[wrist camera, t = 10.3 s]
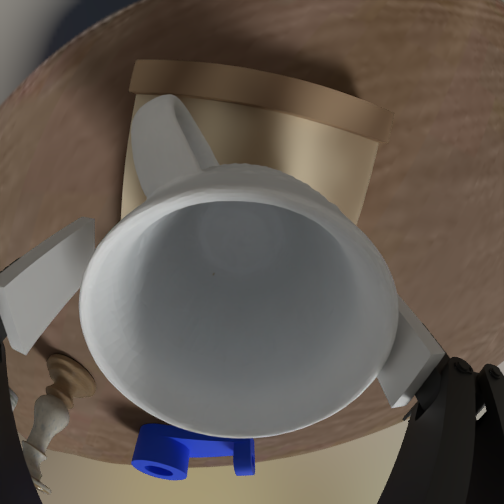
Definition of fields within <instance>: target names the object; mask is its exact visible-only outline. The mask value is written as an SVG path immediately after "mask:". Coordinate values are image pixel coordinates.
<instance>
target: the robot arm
mask: <svg viewBox="0 0 504 504" xmlns="http://www.w3.org/2000/svg"><path fill="white" fill-rule="evenodd" d="M94 250H95V219H93V218H87V217H81V218H79V219H77V220H76V221H74V222H73V223H71V224H69V225H68V226H66V227H65V228H63V229H61V230H60V231H58V232H57V233H55V234H54V235H52V236H51V237H49V238H48V239H46V240H45V241H43V242H42V243H40V244H39V245H38V246H36V247H35V248H33V249H32V250H31V251H29V252H28V253H26V254H25V255H24V256H22V257H21V258H18V259H16V260H15V261H14V262H12V263H11V264H10V266H7V267H6V268H5V269H4V270H3V271H1V272H0V504H42V502H41V500H40V498H39V495H38V493H37V490H36V488H35V485H34V483H33V480H32V478H31V475H30V472H29V469H28V467H27V464H26V461H25V457H24V454H23V451H22V448H21V444H20V441H19V437H18V433H17V429H16V424H15V420H14V415H13V410H12V404H11V399H10V392H9V385H8V377H7V367H6V354H5V347H4V344H3V340H4V339H5V338H6V336H7V337H8V340H9V342H10V345H11V347H12V348H13V349H14V350H16V351H18V352H20V353H22V354H25V355H27V353H28V352H29V350H30V349H31V348H32V346H33V345H34V344H35V342H36V341H37V340H38V338H39V337H40V336H41V334H42V333H43V332H44V330H45V329H46V328H47V327H48V325H49V324H50V323H51V321H52V320H53V319H54V318H55V316H56V315H57V314H58V313H59V312H60V310H61V309H62V308H63V307H64V306H65V304H66V303H67V302H68V301H69V300H70V298H71V297H72V296H73V295H74V294H75V293H76V292H77V290H78V289H79V288H80V287H81V282H82V278H83V274H84V271H85V268H86V265H87V263H88V261H89V259H90V257H91V256H92V254H93V252H94ZM397 297H398V309H399V317H398V326H397V332H396V337H395V341H394V344H393V347H392V349H391V352H390V354H389V356H388V358H387V361H386V362H385V364H384V366H383V367H382V369H381V371H380V372H379V374H378V375H377V378H378V380H379V382H380V384H381V387H382V389H383V391H384V393H385V395H386V397H387V399H388V401H389V403H390V406H391V408H394V407H400V406H406V405H407V404H408V403H409V401H410V400H411V399H412V398H413V397H414V395H415V396H416V398H417V400H418V401H417V403H416V404H415V405H414V406H413V407H412V408H411V410H410V411H409V412H408V413H407V414H406V415H405V416H404V418H403V419H402V420H404V421H405V420H406V419H407V417H409V416H410V420H409V421H408V422H409V423H408V427H407V430H406V433H405V436H404V440H403V442H402V445H401V448H400V451H399V454H398V456H397V459H396V462H395V464H394V467H393V469H392V472H391V474H390V476H389V479H388V481H387V484H386V486H385V488H384V490H383V492H382V494H381V496H380V499H379V501H378V503H377V504H504V376H503V374H502V372H501V371H500V369H499V368H498V367H497V366H495V365H492V364H486V365H485V366H484V367H483V368H482V370H481V371H480V373H476V372H473V369H472V367H471V366H470V365H469V364H468V363H467V362H466V361H464V360H463V359H461V358H458V357H452V358H449V356H448V355H447V353H446V352H445V351H444V350H443V348H442V347H441V346H440V344H439V343H438V342H437V340H436V339H434V337H433V335H432V334H431V333H429V330H428V329H427V328H426V327H425V325H424V324H423V323H422V322H421V321H420V320H419V319H418V318H417V316H416V315H415V314H414V313H413V312H412V310H411V309H410V308H409V307H408V306H407V305H406V303H405V302H404V301H403V300H402V299H401V297H400V296H399V295H398V294H397ZM484 406H486V410H487V411H486V412H485V413H484V415H483V416H482V417H481V418H480V419H479V420H476V415H477V414H478V413H479V412H480V411H481V410H482V409H483V408H484Z"/></svg>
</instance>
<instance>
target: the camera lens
mask: <svg viewBox="0 0 504 504" xmlns="http://www.w3.org/2000/svg"><path fill="white" fill-rule="evenodd" d="M9 392H10V399H11V404H12V410H14V408H15V406H16V404H17V400H18V398H17V396H16V394H15V393H14V392H13V391H12V390H11V389H10V388H9Z"/></svg>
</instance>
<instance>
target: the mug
mask: <svg viewBox="0 0 504 504" xmlns="http://www.w3.org/2000/svg"><path fill="white" fill-rule="evenodd" d="M131 145H132V153H133V160H134V165H135V169H136V173H137V176H138V179H139V182H140V185H141V188H142V190H143V192H144V194H145V195H146V197H147V199H146V201H145V202H144V203H142V204H141V205H139V206H138V207H137V208H135V209H134V210H133V211H131V212H130V213H129V214H127V215H126V216H125V217H124V218H123V219H122V220H121V221H119V222H118V223H117V224H116V225H115V226H114V227H113V228H112V229H111V230H110V231H109V232H108V233H107V235H106V236H105V237H104V238H103V240H102V241H101V242H100V243H99V245H98V246H97V248H96V249H95V250H94V252H93V254H92V256H91V257H90V259H89V261H88V263H87V265H86V268H85V271H84V274H83V278H82V282H81V287H80V295H79V316H80V323H81V327H82V331H83V334H84V338H85V341H86V343H87V345H88V348H89V350H90V352H91V354H92V356H93V358H94V360H95V362H96V364H97V365H98V367H99V368H100V370H101V371H102V372H103V373H104V375H105V376H106V378H107V379H108V380H109V381H110V382H111V383H112V384H113V385H114V386H115V387H116V388H117V389H118V390H119V391H120V392H121V393H122V394H123V395H124V396H126V397H127V398H128V399H129V400H130V401H132V402H133V403H134V404H136V405H137V406H139V407H140V408H142V409H143V410H145V411H146V412H148V413H149V414H151V415H153V416H155V417H157V418H159V419H161V420H163V421H165V422H167V423H169V424H171V425H174V426H176V427H179V428H182V429H185V430H189V431H192V432H196V433H200V434H204V435H209V436H217V437H224V438H259V437H268V436H274V435H279V434H283V433H287V432H291V431H295V430H298V429H302V428H304V427H307V426H309V425H312V424H314V423H317V422H319V421H321V420H324V419H326V418H327V417H329V416H331V415H333V414H335V413H336V412H338V411H340V410H341V409H343V408H344V407H346V406H347V405H348V404H349V403H351V402H352V401H353V400H355V399H356V398H357V397H358V396H359V395H360V394H361V393H362V392H363V391H364V390H365V389H366V388H367V387H368V386H369V385H370V384H371V383H372V382H373V381H374V379H375V378H376V377H377V375H378V374H379V372H380V371H381V369H382V367H383V366H384V364H385V362H386V361H387V358H388V356H389V354H390V352H391V349H392V347H393V344H394V341H395V337H396V332H397V326H398V317H399V309H398V297H397V291H396V287H395V284H394V280H393V277H392V275H391V272H390V270H389V268H388V266H387V264H386V262H385V260H384V258H383V257H382V255H381V254H380V252H379V251H378V250H377V248H376V247H375V246H374V244H373V243H372V242H371V240H370V239H369V238H368V237H367V236H366V235H365V234H364V233H363V232H362V231H361V230H360V229H359V228H358V227H357V226H356V225H355V224H354V223H353V222H352V221H350V220H349V219H348V218H347V217H346V216H345V215H344V214H343V213H342V212H341V211H340V209H339V208H338V206H336V205H335V204H333V203H331V202H329V201H328V200H327V199H326V198H325V197H324V196H323V195H321V194H320V193H319V192H318V191H315V190H314V189H312V188H311V187H310V186H309V185H308V184H306V183H303V182H302V181H300V180H298V179H296V178H294V177H293V176H291V175H288V174H286V173H283V172H282V171H280V170H276V169H272V168H269V167H267V166H260V165H251V164H247V163H243V164H237V163H233V164H222V165H219V163H218V161H217V160H216V158H215V156H214V154H213V152H212V150H211V148H210V146H209V144H208V143H207V141H206V139H205V138H204V136H203V134H202V132H201V131H200V129H199V127H198V126H197V124H196V122H195V121H194V119H193V117H192V116H191V114H190V113H189V111H188V110H187V108H186V107H185V105H184V104H183V103H182V102H181V100H180V99H179V98H178V97H176V96H174V95H171V94H167V95H162V96H159V97H156V98H154V99H152V100H150V101H149V102H147V103H145V104H144V105H143V106H142V107H141V108H140V109H139V110H138V111H137V112H136V114H135V116H134V118H133V121H132V126H131Z"/></svg>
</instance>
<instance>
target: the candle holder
mask: <svg viewBox="0 0 504 504" xmlns="http://www.w3.org/2000/svg"><path fill="white" fill-rule="evenodd" d="M47 368H48V370H49V374H50V377H51V379H52V380H53V382H54V384H52V385H51V386H47V387H46V393H47V395H42V396H40V397H39V398H38V399H37V400H36V402H35V407H34V424H33V428H32V430H31V433H30V435H29V437H28V439H27V441H22V446H23V454H24V457H25V461H26V464H27V467H28V469H29V472H30V475H31V478H32V480H33V483H34V485H35V488H36V489H38V490H39V491H41V492H43V493H45V494H47V495H49V494H50V493H51V490H50V489H49V488H48V487H47V486H45V485H44V484H42V483H41V482H40V479H41V477H42V474H41V471H40V463H41V462H42V461H43V460H45V459H47V456H46V455H45V451H46V448H47V446H48V444H49V442H50V440H51V439H52V438H53V436H54V435H56V434H57V433H58V432H60V431H61V430H63V429H64V428H65V427H66V426H67V425H68V423H69V418H70V417H69V412H68V409H72V408H73V407H74V404H73V397H76V398H83V397H91V396H93V395H94V393H95V391H96V384H95V381H94V379H93V378H92V376H91V375H90V374H89V372H88V371H87V370H86V369H85V368H84V367H82V366H81V365H80V364H79V363H77V362H76V361H74V360H73V359H71V358H69V357H67V356H64V355H61V354H53V355H51V356H50V357H49V358H48V360H47Z"/></svg>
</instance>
